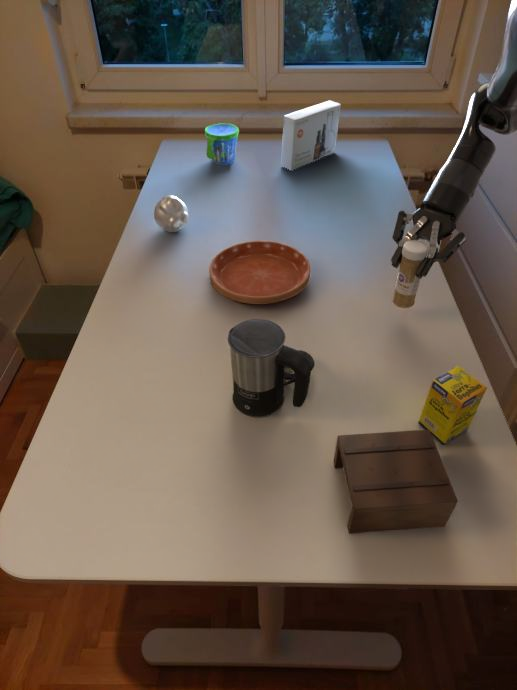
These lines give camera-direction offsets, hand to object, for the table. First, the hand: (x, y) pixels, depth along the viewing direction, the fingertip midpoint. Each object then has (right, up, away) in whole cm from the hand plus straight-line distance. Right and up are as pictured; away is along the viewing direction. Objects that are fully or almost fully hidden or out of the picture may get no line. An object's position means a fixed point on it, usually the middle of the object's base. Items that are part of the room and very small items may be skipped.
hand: (406, 271), depth 96 cm
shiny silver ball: (-51, +16, +37) cm, 64 cm away
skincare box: (-12, +46, +68) cm, 83 cm away
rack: (-9, -36, -20) cm, 43 cm away
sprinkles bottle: (+1, -5, +7) cm, 9 cm away
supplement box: (+3, -28, -11) cm, 30 cm away
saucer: (-28, +1, +20) cm, 34 cm away
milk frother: (-26, -22, -4) cm, 34 cm away
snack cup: (-40, +46, +69) cm, 92 cm away
